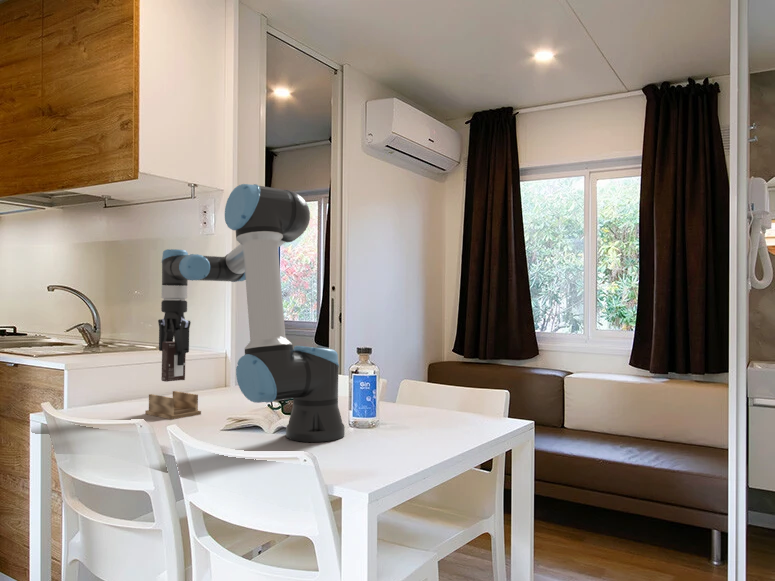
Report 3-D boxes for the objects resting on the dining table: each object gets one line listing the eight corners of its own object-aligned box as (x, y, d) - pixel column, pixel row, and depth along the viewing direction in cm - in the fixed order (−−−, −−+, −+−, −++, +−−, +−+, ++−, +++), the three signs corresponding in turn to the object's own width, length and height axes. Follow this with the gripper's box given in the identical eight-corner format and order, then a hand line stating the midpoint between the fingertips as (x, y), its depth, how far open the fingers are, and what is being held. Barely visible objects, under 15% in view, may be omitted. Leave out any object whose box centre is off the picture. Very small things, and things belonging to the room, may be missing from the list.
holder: (201, 414, 184) (201, 394, 184) (172, 419, 176) (172, 398, 176) (174, 409, 192) (174, 390, 192) (145, 413, 184) (145, 394, 184)
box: (167, 382, 180) (167, 342, 181) (161, 380, 184) (161, 341, 184) (186, 380, 185) (186, 341, 185) (179, 379, 188) (179, 340, 188)
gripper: (202, 300, 182) (201, 376, 182) (168, 299, 193) (167, 371, 192) (181, 300, 176) (179, 379, 176) (147, 299, 187) (145, 373, 186)
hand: (173, 375), depth 184 cm, fingers closed on box, 5 cm apart
